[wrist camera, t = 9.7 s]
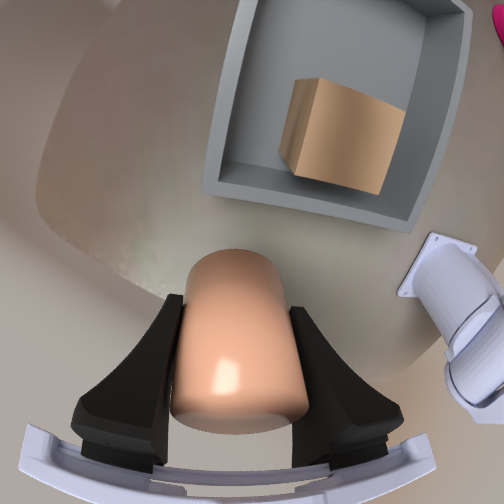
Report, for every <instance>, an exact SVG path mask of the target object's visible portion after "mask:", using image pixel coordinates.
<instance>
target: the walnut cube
mask: <svg viewBox="0 0 504 504" xmlns="http://www.w3.org/2000/svg"><path fill="white" fill-rule="evenodd" d="M405 113H406V112H405V111H403V110H401V109H398V108H396V107H394V106H392V105H390V104H388V103H385V102H383V101H381V100H379V99H376V98H374V97H372V96H369V95H367V94H364V93H362V92H359V91H356V90H354V89H351V88H348V87H346V86H343V85H340V84H337V83H334V82H331V81H328V80H325V79H322V78H310V79H298V80H295V84H294V88H293V92H292V96H291V100H290V104H289V109H288V113H287V117H286V121H285V125H284V129H283V134H282V138H281V142H280V146H279V150H278V152H279V153H280V154H281V156H282V157H283V159H284V160H285V162H286V163H287V165H288V166H289V167H290V169H291V170H292V172H293V173H294V175H297V176H302V177H307V178H311V179H316V180H320V181H325V182H329V183H333V184H337V185H342V186H346V187H350V188H354V189H357V190H361V191H365V192H369V193H372V194H376V195H379V192H380V190H381V187H382V184H383V182H384V179H385V176H386V173H387V170H388V168H389V165H390V162H391V159H392V156H393V153H394V150H395V147H396V144H397V140H398V137H399V134H400V131H401V127H402V124H403V121H404V117H405Z"/></svg>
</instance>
